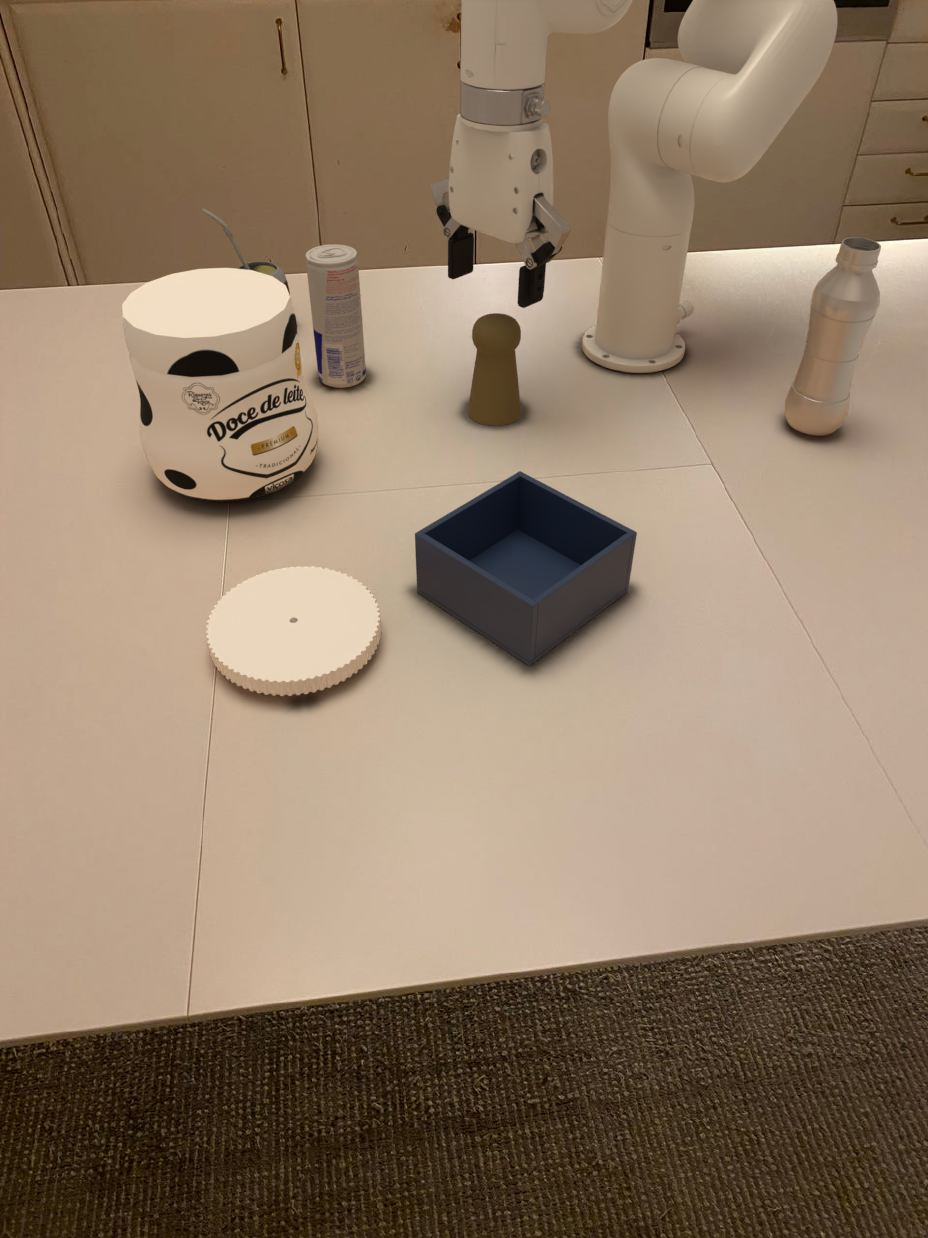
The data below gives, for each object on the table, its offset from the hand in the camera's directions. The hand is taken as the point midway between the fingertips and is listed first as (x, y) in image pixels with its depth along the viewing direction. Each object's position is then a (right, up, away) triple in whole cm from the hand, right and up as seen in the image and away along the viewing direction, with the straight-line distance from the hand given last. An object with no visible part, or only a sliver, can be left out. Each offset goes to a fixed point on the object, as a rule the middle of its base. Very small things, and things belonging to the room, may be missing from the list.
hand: (494, 288), depth 97 cm
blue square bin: (+2, -31, -13) cm, 34 cm away
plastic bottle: (+35, -13, +8) cm, 38 cm away
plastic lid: (-17, -36, -18) cm, 44 cm away
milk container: (-26, -18, +1) cm, 32 cm away
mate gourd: (-29, +3, +25) cm, 38 cm away
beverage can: (-17, -5, +16) cm, 24 cm away
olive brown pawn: (0, -11, +10) cm, 15 cm away
